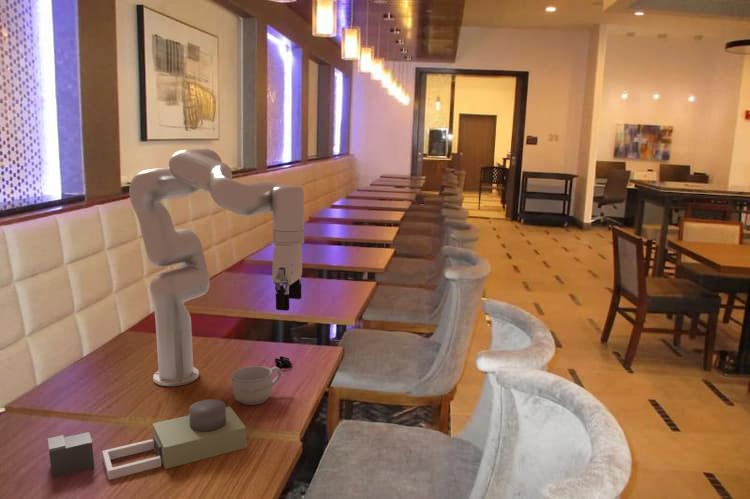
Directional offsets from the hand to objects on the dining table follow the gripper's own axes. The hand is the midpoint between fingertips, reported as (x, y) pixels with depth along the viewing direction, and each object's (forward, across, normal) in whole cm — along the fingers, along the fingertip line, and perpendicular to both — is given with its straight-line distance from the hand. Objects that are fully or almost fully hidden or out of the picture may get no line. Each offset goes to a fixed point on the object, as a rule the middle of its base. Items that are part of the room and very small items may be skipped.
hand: (289, 304), depth 150 cm
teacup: (+29, -5, -10) cm, 31 cm away
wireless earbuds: (+29, -28, -11) cm, 42 cm away
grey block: (+29, +34, -37) cm, 58 cm away
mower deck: (+29, +24, -19) cm, 42 cm away
